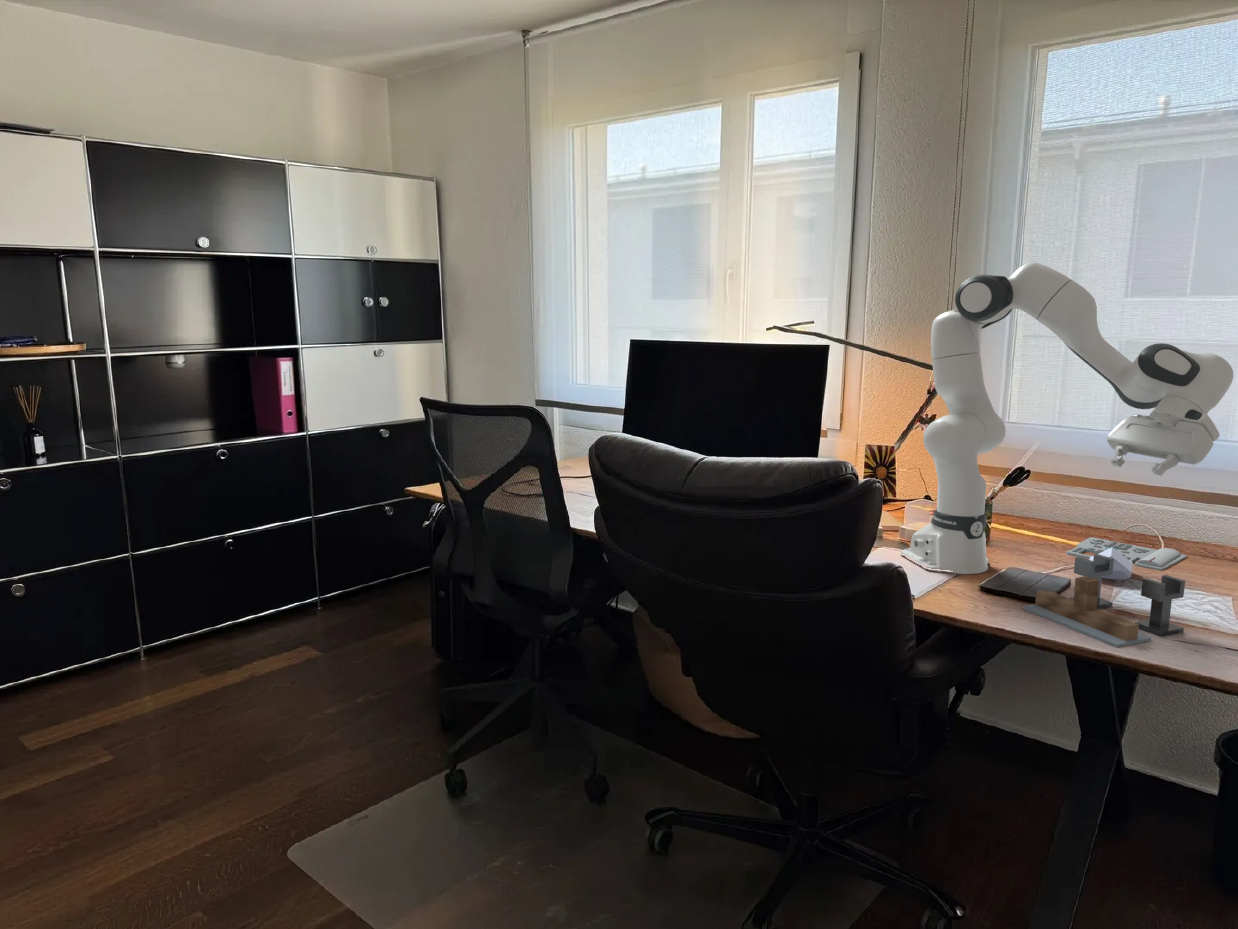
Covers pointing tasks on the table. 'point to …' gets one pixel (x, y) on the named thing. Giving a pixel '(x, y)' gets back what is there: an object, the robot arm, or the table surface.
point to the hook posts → (1150, 589)
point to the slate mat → (1084, 627)
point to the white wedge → (1117, 564)
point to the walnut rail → (1087, 609)
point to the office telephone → (1130, 553)
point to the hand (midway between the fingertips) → (1135, 468)
